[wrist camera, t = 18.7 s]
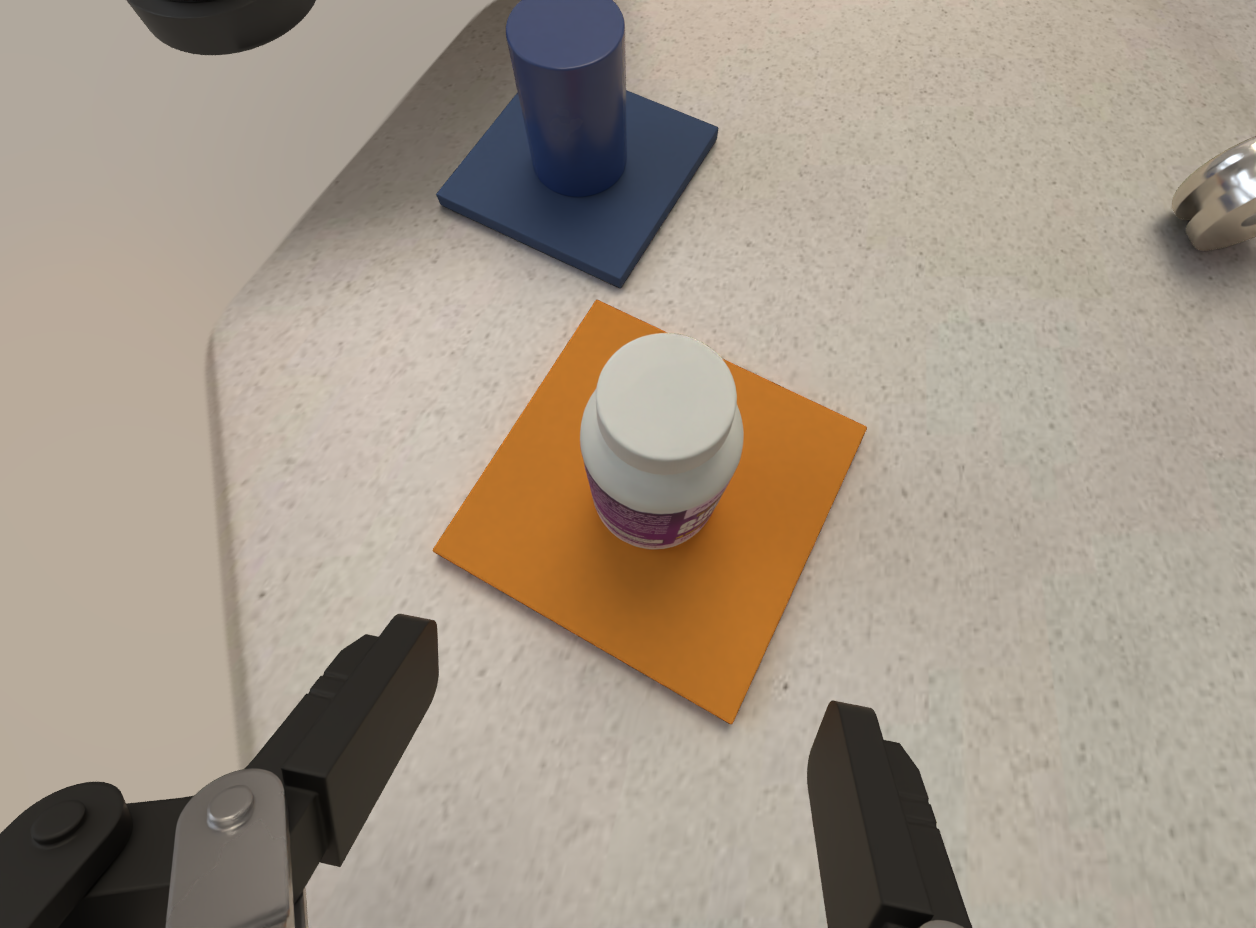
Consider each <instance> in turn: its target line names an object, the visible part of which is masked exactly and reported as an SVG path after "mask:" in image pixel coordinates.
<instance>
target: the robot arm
mask: <svg viewBox="0 0 1256 928" xmlns="http://www.w3.org/2000/svg"><path fill="white" fill-rule="evenodd" d="M171 1H176V2H190V3H191V2H205V1H211V0H171ZM438 676H439V667H438V636H437V624H436V622H435V621H434V620H430V619H425V618H419V617H414V616H409V615H404V614H397V615H396V616H395V617H394V618H393V619H392V620H391V621H390V623H389V624H388V625H387V627H386V628H385V629H384V631H383V632H382V633H381V635H380V636H379V637H377V636H372V635H367V634H365V635H364V636H362V637H361V638H359V639H358V640H356V641H355V642H353V643H352V644H350V645H349V646H347V647H346V648H344V649H343V650H341V651H340V653H339V654H338V655H337V656H336V658H335V659H334V660H333V661H332V663H331V664H330V665H329V666H328V668H327V669H326V670H325V671H324V675H323V676H320V677H319V679H318V680H317V681H316V682H315V684H314V685H313V686H312V687H311V689H310V692H309V694H306V695H305V696H304V697H303V698H302V700H301V701H300V702H299V703H298V705H297V706H296V707H295V708H294V710H293V711H292V712H291V713H290V715H289V716H288V717H287V718H286V720H285V721H284V722H283V723H282V724H281V726H280V727H279V728H278V729H277V731H276V732H275V733H274V734H273V736H272V737H271V738H270V739H269V741H268V742H267V743H266V744H265V745H264V747H263V748H262V749H261V750H260V752H259V753H258V754H257V755H256V757H255V758H254V759H253V760H252V761H251V762H250V763H249V765H248V766H247V767H246V768H244V769H243V770H238V771H234V772H232V773H229V774H226V775H224V776H222V777H220V778H218V779H216V780H214V781H212V782H211V783H210V784H208V785H206V786H205V787H204V788H202V789H201V790H200V791H199V792H198V793H197V794H196V795H194V796H190V797H184V798H176V799H166V800H157V801H147V802H138V803H128V804H126V803H125V800H124V798H123V796H122V794H121V791H120V790H119V789H118V788H117V787H115V786H113V785H112V784H109V783H105V782H86V783H81V784H76V785H73V786H70V787H66V788H64V789H61V790H59V791H57V792H54V793H52V794H51V795H48V796H47V797H45V798H43V799H41V800H40V801H38V802H36V803H35V804H33V805H32V806H31V807H29V808H28V809H27V810H25V811H24V812H23V813H22V814H21V815H19V816H18V817H17V818H16V819H15V820H14V821H13V822H12V823H11V824H10V825H9V826H8V827H7V828H6V829H5V830H4V831H2V832H1V834H0V928H308V915H307V901H306V889H305V886H306V884H307V883H308V881H309V879H310V878H311V876H312V874H313V873H314V871H315V869H316V867H317V866H318V864H319V862H321V863H325V864H329V865H334V866H338V867H341V865H342V863H343V861H344V860H345V858H346V856H347V854H348V852H349V851H350V849H351V847H352V845H353V843H354V842H355V840H356V838H357V836H358V834H359V833H360V831H361V829H362V827H363V825H364V823H365V822H366V820H367V818H368V816H369V814H370V813H371V811H372V809H373V807H374V805H375V804H376V802H377V800H378V798H379V796H380V795H381V793H382V791H383V789H384V787H385V786H386V784H387V782H388V780H389V778H390V777H391V775H392V773H393V771H394V769H395V768H396V766H397V764H398V762H399V760H400V759H401V757H402V755H403V753H404V751H405V750H406V748H407V746H408V744H409V742H410V741H411V739H412V737H413V735H414V733H415V732H416V730H417V728H418V726H419V724H420V723H421V721H422V719H423V717H424V715H425V714H426V712H427V710H428V708H429V706H430V704H431V702H432V700H433V697H434V694H435V691H436V688H437V683H438ZM807 784H808V792H809V799H810V806H811V813H812V820H813V827H814V834H815V841H816V848H817V855H818V862H819V869H820V876H821V883H822V890H823V897H824V904H825V911H826V918H827V925H828V928H972V925H971V923H970V920H969V917H968V914H967V911H966V908H965V905H964V902H963V899H962V896H961V893H960V891H959V888H958V885H957V882H956V879H955V876H954V873H953V870H952V867H951V864H950V861H949V858H948V855H947V852H946V849H945V846H944V843H943V840H942V837H941V834H940V831H939V829H937V827H936V823H937V822H936V819H935V816H934V813H933V810H932V807H931V804H929V803H928V799H929V798H928V795H927V792H926V789H925V786H924V783H923V780H922V777H921V774H920V771H919V769H918V768H917V767H916V765H915V764H914V762H913V761H912V760H911V758H910V757H909V756H908V754H907V753H906V751H905V750H904V749H903V747H902V746H901V744H900V743H896V742H891V741H886V740H883V736H882V733H881V730H880V726H879V723H878V719H877V716H876V714H875V712H874V710H873V709H872V708H868V707H863V706H858V705H853V704H848V703H843V702H838V701H831V702H830V703H829V705H828V707H827V709H826V712H825V714H824V717H823V720H822V722H821V725H820V727H819V730H818V733H817V735H816V738H815V740H814V743H813V746H812V748H811V751H810V755H809V760H808V768H807Z"/></svg>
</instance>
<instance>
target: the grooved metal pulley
mask: <svg viewBox="0 0 1256 928" xmlns="http://www.w3.org/2000/svg"><path fill="white" fill-rule="evenodd" d="M1172 209H1173V211H1174V213H1175V215H1176V216H1177V217H1178V218H1179V219H1183V220H1190V222H1189V223H1188V224H1187V226H1186V234H1187V235H1188V237H1189V239H1190V240H1191V242H1192V244H1193V246H1194V247H1195V248H1196V249H1197V250H1201V251H1208V250H1216V249H1220V248H1224V247H1228V246H1231V245H1235V244H1238V243H1241V242H1243V241H1246V240H1249V239H1251V238H1254V237H1256V136H1255V137H1252V138H1250V139H1247V140H1245V141H1243V142H1241V143H1239V144H1237V145H1235V146H1233V147H1231V148H1229V149H1227V150H1225V151H1224V152H1222V153H1220V154H1219V155H1217V156H1215V157H1214V158H1212V159H1211V160H1209V161H1208V162H1206V163H1205V164H1203V165H1202V166H1201V167H1199V168H1198V169H1197V170H1195V171H1194V172H1193V173H1192V174H1191V175H1190V176H1189V177H1187V178H1186V179H1185V180H1184V181H1183V183H1182V184H1181V185H1180V186H1179V187H1178V189H1177V190H1176V192H1175V194H1174V196H1173V199H1172Z"/></svg>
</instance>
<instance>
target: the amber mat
mask: <svg viewBox="0 0 1256 928" xmlns="http://www.w3.org/2000/svg"><path fill="white" fill-rule="evenodd" d="M658 333H667V332H665V331H663V330H661V329H658V328H656V327H654V326H652V325H650V324H648V323H646V322H644V321H641V320H639V319H637V318H635V317H633V316H631V315H629V314H627V313H625V312H622V311H620V310H618V309H616V308H614V307H612V306H610V305H608V304H605V303H603V302H601V301H599V300H596V301H595V302H594V304H593V305H592V307H591V308H590V310H589V311H588V313H587V314H586V316H585V318H584V319H583V321H582V322H581V324H580V325H579V327H578V328H577V330H576V331H575V333H574V334H573V336H572V337H571V339H570V340H569V342H568V344H567V345H566V347H565V348H564V350H563V351H562V353H561V354H560V356H559V357H558V359H557V360H556V362H555V363H554V365H553V366H552V368H551V370H550V371H549V373H548V374H547V376H546V377H545V379H544V380H543V382H542V383H541V385H540V386H539V388H538V389H537V391H536V392H535V394H534V396H533V397H532V399H531V400H530V402H529V403H528V405H527V406H526V408H525V409H524V411H523V412H522V414H521V415H520V417H519V418H518V420H517V421H516V423H515V425H514V426H513V428H512V429H511V431H510V432H509V434H508V435H507V437H506V438H505V440H504V441H503V443H502V444H501V446H500V447H499V449H498V451H497V452H496V454H495V455H494V457H493V458H492V460H491V461H490V463H489V464H488V466H487V467H486V469H485V470H484V472H483V473H482V475H481V477H480V478H479V480H478V481H477V483H476V484H475V486H474V487H473V489H472V490H471V492H470V493H469V495H468V496H467V498H466V499H465V501H464V503H463V504H462V506H461V507H460V509H459V510H458V512H457V513H456V515H455V516H454V518H453V519H452V521H451V522H450V524H449V525H448V527H447V528H446V530H445V532H444V533H443V535H442V536H441V538H440V539H439V541H438V542H437V544H436V545H435V547H434V548H433V552H434V553H436V554H438V555H440V556H441V557H443V558H445V559H447V560H448V561H450V562H452V563H453V564H455V565H457V566H459V567H460V568H462V569H464V570H465V571H467V572H469V573H471V574H472V575H474V576H476V577H478V578H479V579H481V580H483V581H484V582H486V583H488V584H490V585H491V586H493V587H495V588H496V589H498V590H500V591H502V592H503V593H505V594H507V595H509V596H510V597H512V598H514V599H515V600H517V601H519V602H521V603H522V604H524V605H526V606H527V607H529V608H531V609H533V610H534V611H536V612H538V613H539V614H541V615H543V616H545V617H546V618H548V619H550V620H552V621H553V622H555V623H557V624H558V625H560V626H562V627H564V628H565V629H567V630H569V631H570V632H572V633H574V634H576V635H577V636H579V637H581V638H583V639H584V640H586V641H588V642H589V643H591V644H593V645H595V646H596V647H598V648H600V649H601V650H603V651H605V652H607V653H608V654H610V655H612V656H614V657H615V658H617V659H619V660H620V661H622V662H624V663H626V664H627V665H629V666H631V667H632V668H634V669H636V670H638V671H639V672H641V673H643V674H645V675H646V676H648V677H650V678H651V679H653V680H655V681H657V682H658V683H660V684H662V685H663V686H665V687H667V688H669V689H670V690H672V691H674V692H676V693H677V694H679V695H681V696H682V697H684V698H686V699H688V700H689V701H691V702H693V703H694V704H696V705H698V706H700V707H701V708H703V709H705V710H706V711H708V712H710V713H712V714H713V715H715V716H717V717H719V718H720V719H722V720H724V721H725V722H727V723H729V724H732V723H733V722H734V719H735V717H736V715H737V713H738V711H739V709H740V706H741V704H742V702H743V700H744V698H745V695H746V693H747V691H748V689H749V687H750V684H751V682H752V680H753V678H754V676H755V673H756V671H757V669H758V667H759V665H760V662H761V660H762V658H763V656H764V654H765V651H766V649H767V647H768V645H769V643H770V640H771V638H772V636H773V634H774V632H775V629H776V627H777V625H778V623H779V621H780V618H781V616H782V614H783V612H784V610H785V607H786V605H787V603H788V601H789V599H790V596H791V594H792V592H793V590H794V588H795V586H796V583H797V581H798V579H799V577H800V575H801V572H802V570H803V568H804V566H805V564H806V561H807V559H808V557H809V555H810V553H811V550H812V548H813V546H814V544H815V542H816V539H817V537H818V535H819V533H820V531H821V528H822V526H823V524H824V522H825V520H826V517H827V515H828V513H829V511H830V509H831V506H832V504H833V502H834V500H835V498H836V495H837V493H838V491H839V489H840V487H841V484H842V482H843V480H844V478H845V476H846V473H847V471H848V469H849V467H850V465H851V462H852V460H853V458H854V456H855V454H856V452H857V449H858V447H859V445H860V443H861V441H862V438H863V436H864V434H865V432H866V430H867V427H866V426H864V425H862V424H860V423H858V422H856V421H854V420H851V419H849V418H847V417H845V416H843V415H841V414H839V413H837V412H835V411H832V410H830V409H828V408H826V407H824V406H822V405H820V404H818V403H815V402H813V401H811V400H809V399H807V398H805V397H803V396H801V395H798V394H796V393H794V392H792V391H790V390H788V389H786V388H784V387H781V386H779V385H777V384H775V383H773V382H771V381H769V380H767V379H765V378H762V377H760V376H758V375H756V374H754V373H752V372H750V371H748V370H745V369H743V368H741V367H739V366H737V365H735V364H733V363H731V362H728V361H726V360H724V359H723V361H724V362H725V363H726V365H727V367H728V368H729V370H730V372H731V374H732V376H733V379H734V382H735V386H736V393H737V406H738V408H739V411H740V414H741V418H742V423H743V432H744V438H743V448H742V453H741V458H740V461H739V464H738V466H737V468H736V470H735V472H734V475H733V477H732V478H731V480H730V482H729V484H728V486H727V488H726V489H725V491H724V493H723V495H722V496H721V498H720V500H719V502H718V504H717V506H716V507H715V509H714V511H713V513H712V514H711V516H710V518H709V519H708V521H707V522H706V524H705V525H704V526H703V527H702V528H701V530H700V531H699V532H698V533H696V534H695V535H694V536H693V537H691V538H690V539H688V540H687V541H685V542H683V543H681V544H679V545H676V546H674V547H670V548H665V549H645V548H640V547H636V546H633V545H631V544H629V543H626V542H624V541H622V540H621V539H619V538H618V537H616V536H615V535H614V534H613V533H611V531H610V530H609V529H608V528H607V527H606V526H605V524H604V523H603V522H602V520H601V518H600V517H599V515H598V512H597V510H596V508H595V505H594V501H593V498H592V494H591V489H590V485H589V481H588V477H587V473H586V470H585V465H584V460H583V457H582V453H581V447H580V429H581V422H582V417H583V413H584V410H585V407H586V405H587V403H588V401H589V399H590V397H591V395H592V394H593V392H594V391H595V389H596V387H597V383H598V379H599V376H600V373H601V371H602V369H603V367H604V366H605V364H606V363H607V361H608V360H609V359H610V358H611V356H612V355H613V354H614V353H615V352H616V351H618V350H619V349H620V348H621V347H622V346H624V345H625V344H627V343H629V342H631V341H633V340H635V339H637V338H640V337H643V336H646V335H651V334H658Z"/></svg>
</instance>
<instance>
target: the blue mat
mask: <svg viewBox="0 0 1256 928" xmlns="http://www.w3.org/2000/svg"><path fill="white" fill-rule="evenodd" d="M626 124H627V163H626V167H625V170H624V172H623V174H622V176H621V177H620V178H619V180H618V181H617V182H616V183H615V184H614V185H613V186H611V187H610V188H608V189H607V190H605V191H603V192H601V193H598V194H595V195H592V196H586V197H571V196H565V195H561V194H559V193H556V192H554V191H552V190H550V189H549V188H547V187H546V186H545V185H544V184H543V183H542V182H541V181H540V180H539V179H538V177H537V175H536V173H535V171H534V168H533V163H532V158H531V153H530V149H529V144H528V139H527V134H526V129H525V124H524V120H523V115H522V110H521V105H520V100H519V95H518V93H517V94H516V95H515V96H514V98H513V99H512V100H511V101H510V103H509V104H508V105H507V106H506V108H505V109H504V110H503V111H502V113H501V114H500V115H499V116H498V118H497V119H496V120H495V121H494V123H493V124H492V125H491V126H490V128H489V129H488V130H487V131H486V133H485V134H484V135H483V136H482V138H481V139H480V140H479V141H478V143H477V144H476V145H475V146H474V148H473V149H472V150H471V151H470V153H469V154H468V155H467V156H466V158H465V159H464V160H463V161H462V163H461V164H460V165H459V166H458V168H457V169H456V170H455V171H454V172H453V174H452V175H451V176H450V177H449V179H448V180H447V181H446V182H445V184H444V185H443V186H442V187H441V189H440V190H439V191H438V192H437V194H436V195H437V197H438V200H439V202H440V204H441V205H442V206H444V207H446V208H448V209H451V210H453V211H455V212H457V213H459V214H461V215H463V216H466V217H468V218H470V219H472V220H474V221H476V222H479V223H481V224H483V225H485V226H487V227H489V228H491V229H494V230H496V231H498V232H500V233H502V234H504V235H507V236H509V237H511V238H513V239H515V240H517V241H519V242H522V243H524V244H526V245H528V246H530V247H532V248H534V249H537V250H539V251H541V252H543V253H545V254H547V255H550V256H552V257H554V258H556V259H558V260H560V261H562V262H565V263H567V264H569V265H571V266H573V267H575V268H578V269H580V270H582V271H584V272H586V273H588V274H590V275H593V276H595V277H597V278H599V279H601V280H603V281H606V282H608V283H610V284H612V285H614V286H616V287H618V288H621V287H622V285H623V284H624V282H625V281H626V279H627V278H628V276H629V275H630V273H631V271H632V270H633V268H634V267H635V265H636V264H637V262H638V261H639V259H640V258H641V256H642V254H643V253H644V251H645V250H646V248H647V247H648V245H649V244H650V242H651V240H652V239H653V237H654V236H655V234H656V233H657V231H658V230H659V228H660V226H661V225H662V223H663V222H664V220H665V219H666V217H667V216H668V214H669V212H670V211H671V209H672V208H673V206H674V205H675V203H676V202H677V200H678V198H679V197H680V195H681V194H682V192H683V191H684V189H685V188H686V186H687V185H688V183H689V181H690V180H691V178H692V177H693V175H694V174H695V172H696V171H697V169H698V167H699V166H700V164H701V163H702V161H703V160H704V158H705V157H706V155H707V153H708V152H709V150H710V149H711V147H712V146H713V144H714V143H715V141H716V139H717V134H718V127H716V126H714V125H711V124H709V123H706V122H704V121H701V120H699V119H697V118H694V117H692V116H689V115H687V114H684V113H682V112H679V111H677V110H674V109H672V108H669V107H667V106H664V105H662V104H659V103H657V102H654V101H652V100H649V99H647V98H644V97H642V96H639V95H637V94H634V93H632V92H629V91H627V90H626Z"/></svg>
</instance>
